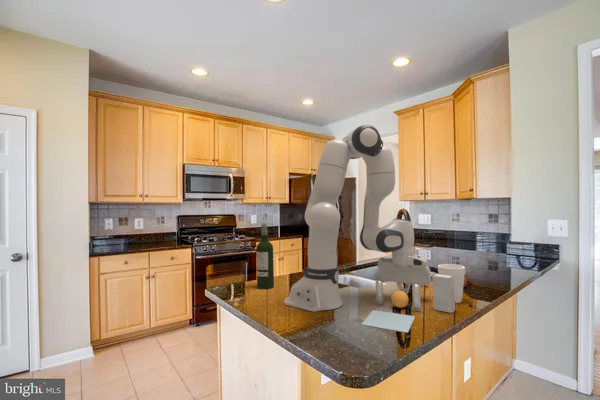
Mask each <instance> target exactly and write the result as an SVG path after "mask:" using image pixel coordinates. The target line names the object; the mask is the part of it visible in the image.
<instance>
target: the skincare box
mask: <svg viewBox="0 0 600 400" xmlns="http://www.w3.org/2000/svg"><path fill="white" fill-rule="evenodd" d="M431 283H432V294H433V310H435V311H441V312H445V313H449V314H453V313H454V312H455V311H456V303H455V296H454V280H453V276H449V275H441V274H439V273H435V274H433V275H431Z"/></svg>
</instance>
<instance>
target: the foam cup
mask: <svg viewBox="0 0 600 400" xmlns="http://www.w3.org/2000/svg"><path fill="white" fill-rule="evenodd" d="M437 273H438V274H441V275H449V276H453V280H454V296H455V304H457V303H458V304H459V303H461V302H462V300H463V293H464V287H463V285H464V276H465V274H466V267H465V266H464V265H460V264H454V263H443V264H438V265H437ZM465 277H466V276H465Z"/></svg>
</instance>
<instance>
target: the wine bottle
mask: <svg viewBox="0 0 600 400" xmlns="http://www.w3.org/2000/svg"><path fill="white" fill-rule="evenodd" d="M260 226H261V235H260V236H261V239H260V241H259V242H258V243H257V245H256V246H255V247H256V249H255V250H256V283H257V285H256V287H257V288H258V289H259V290H269V289H273V288H274V287H275V275H274V274H275V273H274V272H275V271H274V246H273V243H272V242H270V240H269V237H268V223H267V222H263V223H261V225H260Z"/></svg>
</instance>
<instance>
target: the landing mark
mask: <svg viewBox="0 0 600 400" xmlns="http://www.w3.org/2000/svg"><path fill="white" fill-rule="evenodd" d="M415 319H416V316H415V315H409V314H401V313H395V312H389V311H381V310H376V309H375V310H374V309H372V311H371V312H370V313H369V315H368V316H367V317H366V318H365V319H364V320H363V321H362V322H361V326H366V327H371V328H378V329H384V330H389V331H394V332H399V333H400V332H401V333H406V334H408V333H409V331H410V330H411V327H412V325H413V323H414V321H415Z"/></svg>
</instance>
